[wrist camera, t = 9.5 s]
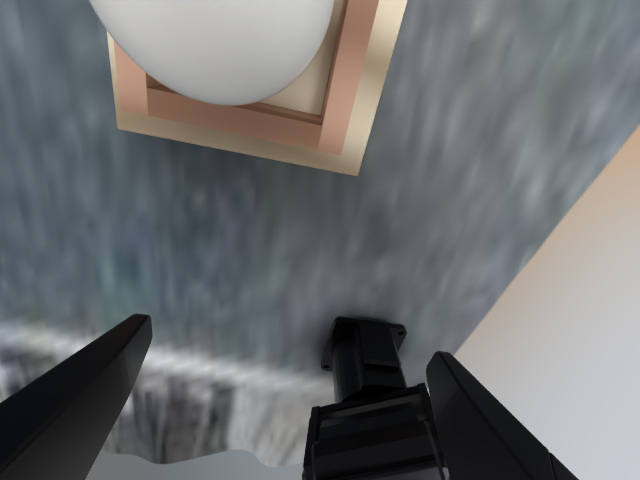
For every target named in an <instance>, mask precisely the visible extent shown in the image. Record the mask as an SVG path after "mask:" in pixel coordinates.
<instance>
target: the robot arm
mask: <svg viewBox="0 0 640 480" xmlns="http://www.w3.org/2000/svg"><path fill="white" fill-rule="evenodd" d="M339 323H342V324H339ZM400 331H401V332H400ZM406 334H407V332H406V329H405V327H404V326H398V325H391V324H383V323H376V322H368V321H361V320H353V319H346V318H337V319H336V320H335V321H334V324H333V327H332V330H331V334H330V337H329V340H328V343H327V346H326V349H325V352H324V355H323V358H322V362H321V368H322V369H323V370H326V371H333V381H334V394H335V404H331V405H326V406H322V407H320V406H316V407H312V411H311V418H310V420H309V427H308V434H307V442H306V449H305V456H304V464H303V468H304V470H303V473H302V480H579V479H578V478H576V477H575V476H574V475H573V474H572V473H571V472H570V471H569V470H568V469H567V468H566V467H565V466H564V465H563V464H562V463H561V462H560V461H559V460H558V459H557V458H556V457H555V456H554V455H553V454H552V453H549V451H548V449H547V448H546V447H545V446H543V445H542V443H541V442H540V441H538V440H537V438H536V437H534V435H532V434H531V433H530V432H529V431H528V430H527V429H526V428H525V427H524V426H523V425H522V424H521V423H520V422H519V421H518V420H517V419H516V418H515V417H514V416H513V415H512V414H511V413H510V412H509V411H508V410H507V409H506V408H505V407H504V406H503V405H502V404H501V403H500V402H499V401H498V400H497V399H496V398H495V397H494V396H493V395H492V394H491V393H490V392H489V391H488V390H487V389H486V388H485V387H484V386H483V385H482V384H481V383H480V382H479V381H478V380H477V379H476V378H475V377H474V376H473V375H472V374H471V373H470V372H469V371H468V370H467V369H466V368H465V367H463V366H462V364H460V362H458V361H457V360H456V359H455V358H454V357H453V356H452V355H451V354H450V353H448V352H443V351H437V352H435V353H434V355H433V357H432V359H431V360H430V362H429V364H428V366H427V368H426V375H427V381H428V387H429V393H430V396H429V394H428V391H427V388H426V386H425V383H420V384H417V386H413V387H408V388H407V385H406V382H405V378H404V375H403V372H402V368H401V362H400V359H399V356H398V350H399V348H400V346H401V344H402V342H403V340H404V338H405V336H406ZM151 340H152V323H151V317H150V316H149V315H145V314H134V315H132V316H130V317H129V318H127V319H126V320H124V321H123V322H121V323H120V324H118V325H117V326H115V327H114V328H112V329H111V330H109V331H108V332H106V333H105V334H103V335H102V336H100V337H99V338H97V339H96V340H94V341H93V342H91V343H90V344H88V345H87V346H85V347H84V348H82V349H81V350H79V351H78V352H76V353H75V354H73V355H72V356H70V357H69V358H67V359H66V360H64V361H63V362H61V363H60V364H58V365H57V366H55V367H54V368H52V369H51V370H49V371H48V372H46V373H45V374H43V375H42V376H40V377H39V378H37V379H36V380H34V381H33V382H31V383H30V384H28V385H27V386H25V387H24V388H22V389H21V390H19V391H18V392H16V393H15V394H13V395H12V396H10V397H9V398H7V399H6V400H4V401H3V402H1V403H0V480H85V479H86V477H87V475H88V473H89V471H90V469H91V467H92V465H93V463H94V462H95V460H96V458H97V456H98V454H99V452H100V450H101V448H102V446H103V445H104V443H105V441H106V439H107V437H108V435H109V433H110V431H111V429H112V428H113V426H114V424H115V422H116V420H117V418H118V416H119V414H120V412H121V410H122V409H123V407H124V405H125V403H126V401H127V399H128V397H129V395H130V393H131V391H132V388H133V386H134V383H135V381H136V378H137V376H138V373H139V371H140V368H141V366H142V363H143V361H144V358H145V356H146V353H147V351H148V348H149V346H150V343H151Z"/></svg>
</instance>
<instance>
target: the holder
mask: <svg viewBox="0 0 640 480" xmlns="http://www.w3.org/2000/svg"><path fill="white" fill-rule="evenodd" d="M406 3H407V0H335V1H334V7H333V12H332V16H331V20H330V23H329V27H328V30H327V32H326V35H325V38H324V40H323V42H322V44H321V46H320V48H319V50H318V52H317V54H316V56H315V57H314V59H313V60H312V62H311V63H310V65H309V66H308V67H307V68H306V70H305V71H304V72H303V73H302V74H301V75H300V76H299V77H298V78H297V79H296V80H295V81H294V82H293V83H292V84H291V85H289V86H288V87H287V88H285V89H284V90H282V91H281V92H279V93H278V94H276V95H274V96H272V97H270V98H267V99H265V100H262V101H259V102H255V103H251V104H246V105H238V106H225V105H215V104H209V103H204V102H201V101H197V100H194V99H191V98H188V97H186V96H183V95H181V94H179V93H177V92H175V91H173V90H171V89H169V88H168V87H166V86H164V85H163V84H161V83H159V82H158V81H157V80H155V79H154V78H152V77H151V76H150V75H148V74H147V73H146V72H145V71H143V70H142V69H141V68H140V67H139V66H138V65H137V64H136V63H135V62H133V61H132V60H131V59H130V58H129V57H128V56H127V54H126V53H125V52H124V51H123V50H122V49H121V48H120V47H119V45H118V44H117V43H116V42H115V41H114V39H113V38H112V37H111V35H110V34H109V33H108V31H107V37H108V46H109V55H110V64H111V74H112V83H113V92H114V101H115V110H116V120H117V129H121V130H126V131H131V132H136V133H141V134H146V135H151V136H156V137H161V138H166V139H171V140H176V141H181V142H186V143H192V144H197V145H202V146H207V147H212V148H217V149H222V150H227V151H232V152H237V153H242V154H247V155H252V156H257V157H262V158H267V159H272V160H277V161H282V162H287V163H293V164H298V165H303V166H308V167H313V168H318V169H323V170H328V171H333V172H338V173H343V174H348V175H353V176H358V173H359V170H360V166H361V162H362V159H363V155H364V152H365V148H366V145H367V141H368V138H369V134H370V131H371V127H372V124H373V120H374V117H375V113H376V109H377V106H378V102H379V99H380V95H381V92H382V88H383V85H384V81H385V78H386V74H387V71H388V67H389V64H390V60H391V56H392V53H393V49H394V46H395V42H396V39H397V35H398V32H399V28H400V25H401V21H402V18H403V14H404V10H405V7H406Z"/></svg>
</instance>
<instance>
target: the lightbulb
mask: <svg viewBox="0 0 640 480" xmlns="http://www.w3.org/2000/svg"><path fill="white" fill-rule="evenodd" d="M334 1H335V0H89V2H90V4H91V6H92V7H93V9H94V11H95V13H96V14H97V16H98V18H99V19H100V21H101V22H102V24H103V25H104V27H105V28H106V30H107V31H108V33H109V34H110V35H111V37H112V38H113V39H114V41H115V42H116V43H117V44H118V45H119V47H120V48H121V49H122V50H123V51H124V52H125V53H126V54H127V56H128V57H129V58H130V59H131V60H132V61H133V62H135V63H136V64H137V65H138V66H139V67H140V68H141V69H142V70H143V71H145V72H146V73H147V74H148V75H150V76H151V77H152V78H154V79H155V80H157V81H158V82H159V83H161V84H163V85H164V86H166V87H168V88H169V89H171V90H173V91H175V92H177V93H179V94H181V95H183V96H186V97H188V98H191V99H194V100H197V101H201V102H204V103H209V104H215V105H225V106H238V105H246V104H251V103H255V102H259V101H262V100H265V99H267V98H270V97H272V96H274V95H276V94H278V93H279V92H281V91H282V90H284V89H285V88H287V87H288V86H289V85H291V84H292V83H293V82H294V81H295V80H296V79H297V78H298V77H299V76H300V75H301V74H302V73H303V72H304V71H305V70H306V68H307V67H308V66H309V65H310V63H311V62H312V60H313V59H314V57H315V56H316V54H317V52H318V50H319V48H320V46H321V44H322V42H323V40H324V38H325V35H326V32H327V30H328V27H329V23H330V20H331V16H332V12H333V7H334Z"/></svg>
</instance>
